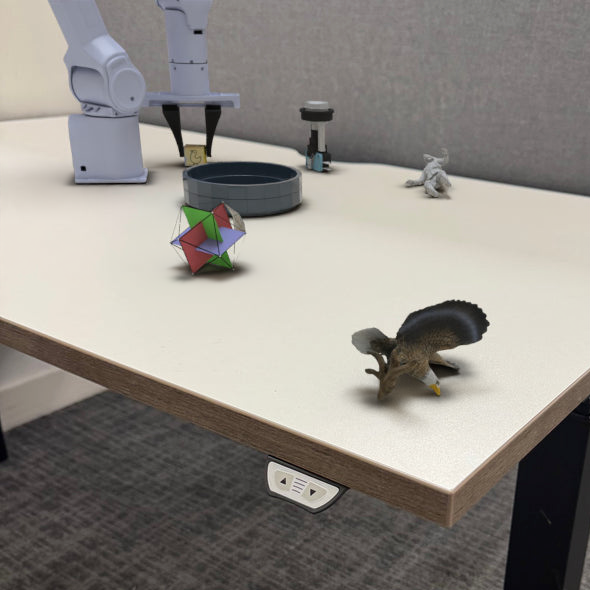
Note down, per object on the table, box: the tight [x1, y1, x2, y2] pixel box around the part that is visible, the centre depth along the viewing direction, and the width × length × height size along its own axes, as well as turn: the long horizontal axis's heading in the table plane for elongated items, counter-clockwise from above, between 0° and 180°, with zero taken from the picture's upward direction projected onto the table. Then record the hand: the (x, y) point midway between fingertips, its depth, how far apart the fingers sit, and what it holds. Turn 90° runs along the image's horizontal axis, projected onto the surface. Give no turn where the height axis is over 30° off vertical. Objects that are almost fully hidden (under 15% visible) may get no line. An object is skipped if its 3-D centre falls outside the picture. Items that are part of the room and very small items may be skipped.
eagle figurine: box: [351, 299, 491, 402], centre depth 57 cm, size 8×7×9 cm
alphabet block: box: [183, 143, 208, 167], centre depth 124 cm, size 3×3×3 cm
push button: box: [298, 100, 335, 173], centre depth 123 cm, size 7×5×10 cm
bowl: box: [181, 160, 303, 218], centre depth 103 cm, size 15×15×4 cm
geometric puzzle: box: [169, 202, 248, 275], centre depth 79 cm, size 7×7×8 cm
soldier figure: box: [404, 147, 452, 198], centre depth 116 cm, size 8×5×12 cm
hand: (195, 155), depth 124 cm, fingers closed on alphabet block, 3 cm apart
